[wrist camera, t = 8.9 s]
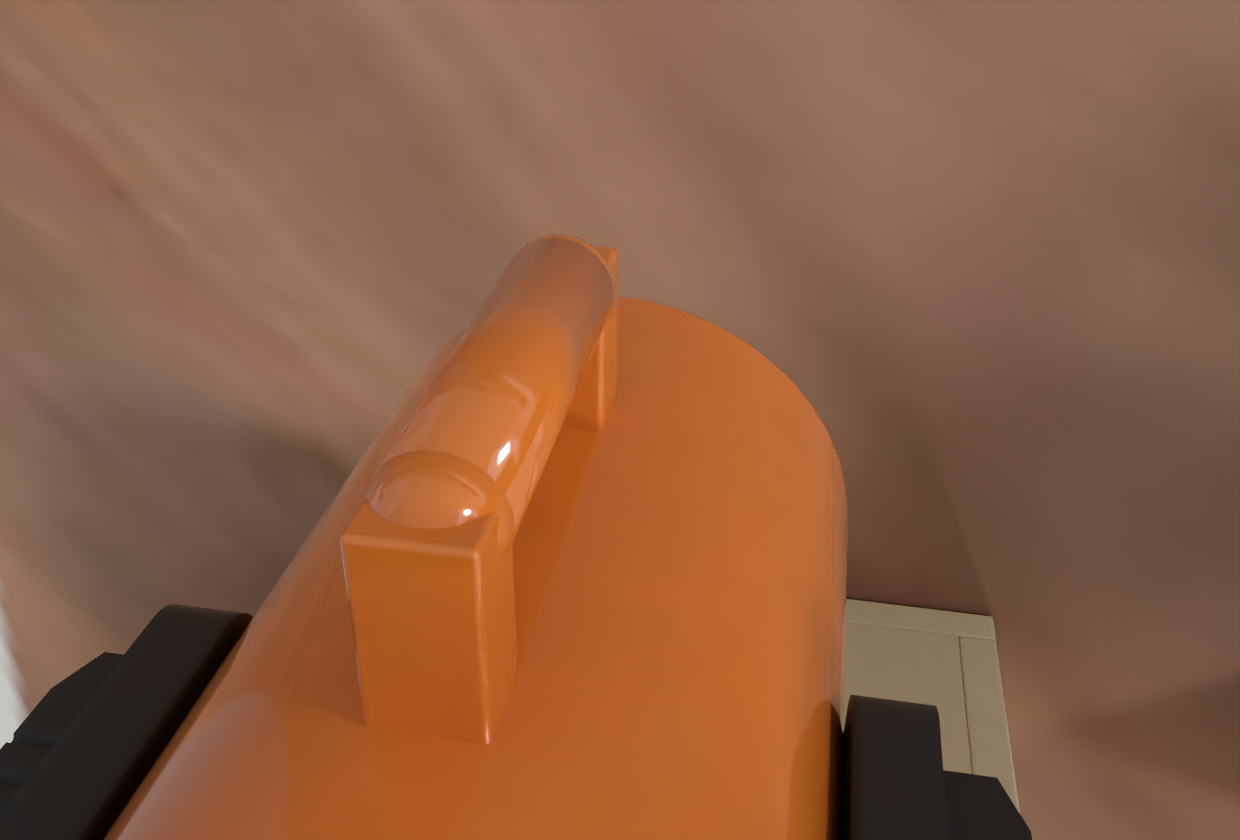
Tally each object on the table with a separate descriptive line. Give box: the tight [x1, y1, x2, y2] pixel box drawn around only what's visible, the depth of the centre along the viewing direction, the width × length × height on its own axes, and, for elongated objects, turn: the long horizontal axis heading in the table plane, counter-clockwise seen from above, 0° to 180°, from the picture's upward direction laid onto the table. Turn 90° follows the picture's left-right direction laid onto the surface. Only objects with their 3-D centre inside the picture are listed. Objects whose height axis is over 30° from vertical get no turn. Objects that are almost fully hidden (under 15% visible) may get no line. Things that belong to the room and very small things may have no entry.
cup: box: [103, 234, 848, 840], centre depth 10 cm, size 7×5×8 cm
